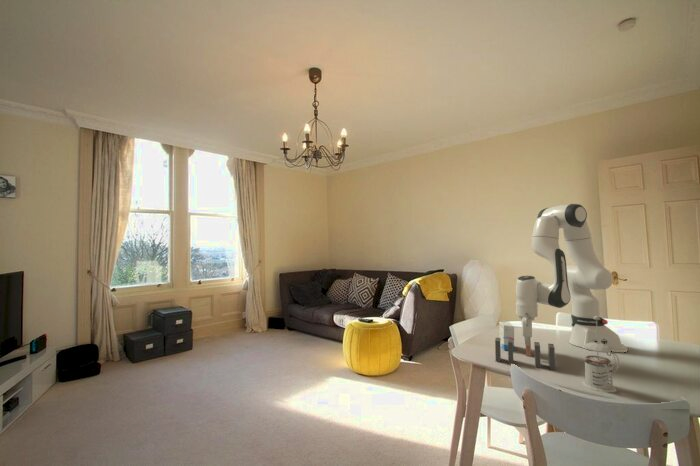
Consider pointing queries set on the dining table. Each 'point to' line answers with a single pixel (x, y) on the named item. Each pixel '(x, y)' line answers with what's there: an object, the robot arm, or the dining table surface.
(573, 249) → the robot arm
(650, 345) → the dining table surface
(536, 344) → the domino
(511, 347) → the domino
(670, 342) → the dining table surface
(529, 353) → the domino
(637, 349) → the dining table surface
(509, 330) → the ink box
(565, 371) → the dining table surface
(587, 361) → the french press
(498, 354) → the domino
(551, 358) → the domino
